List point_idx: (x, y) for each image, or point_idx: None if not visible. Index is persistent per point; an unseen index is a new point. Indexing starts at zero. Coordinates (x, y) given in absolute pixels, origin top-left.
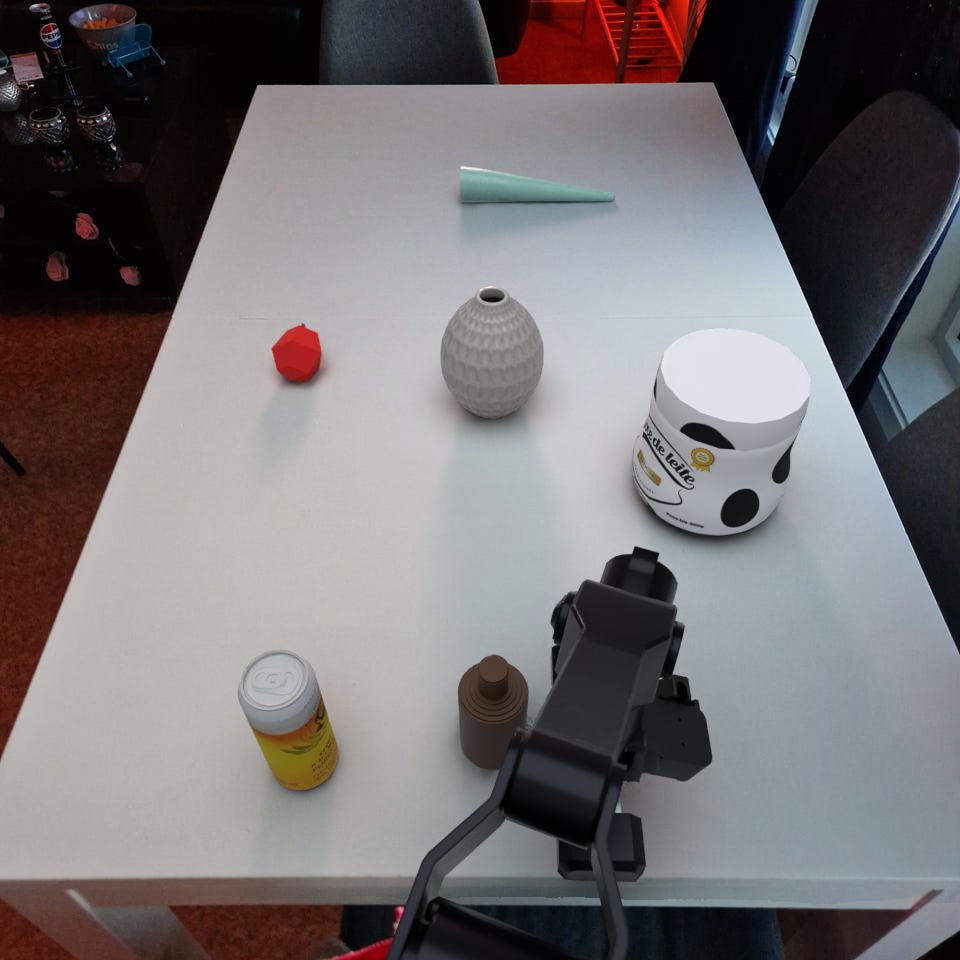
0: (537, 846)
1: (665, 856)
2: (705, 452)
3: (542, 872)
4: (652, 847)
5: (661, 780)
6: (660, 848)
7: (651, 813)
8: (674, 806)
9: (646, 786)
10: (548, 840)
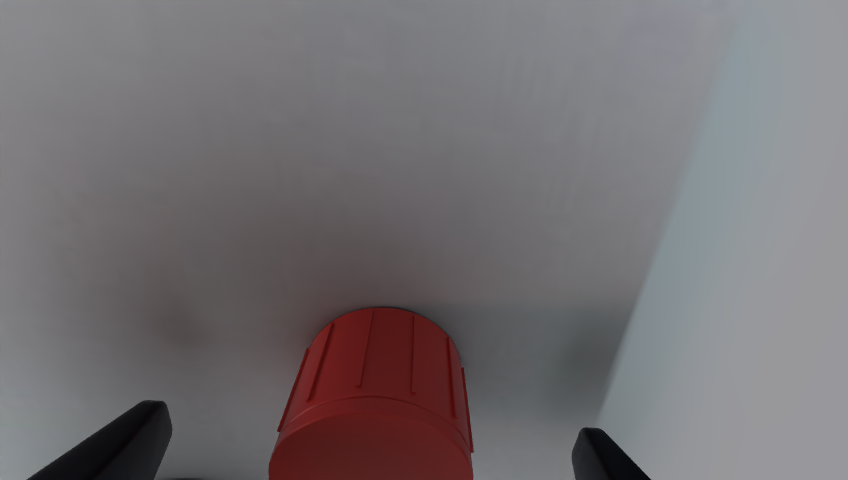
0: (507, 475)
1: (636, 115)
2: None
3: None
4: (586, 164)
5: (288, 56)
6: (598, 130)
7: (445, 139)
8: (420, 15)
9: (322, 137)
10: (495, 454)
